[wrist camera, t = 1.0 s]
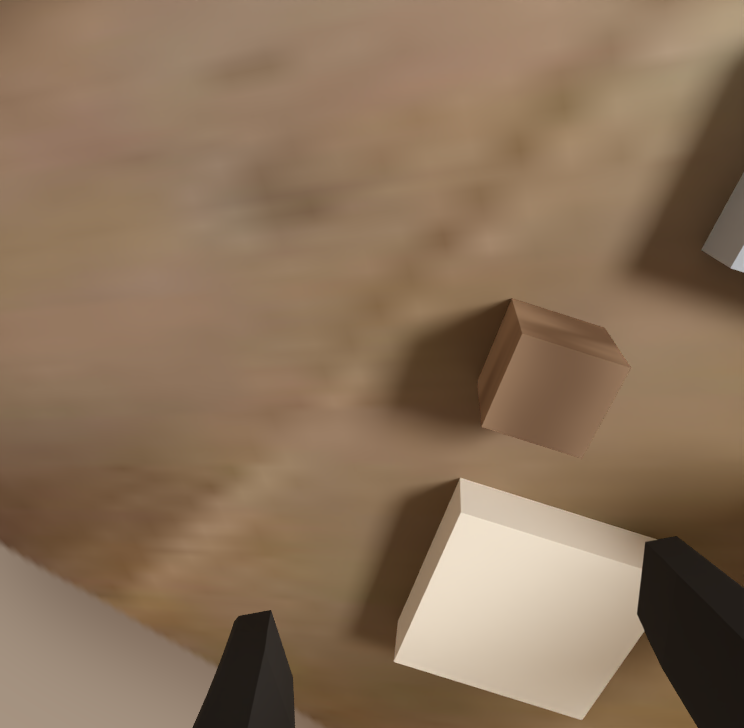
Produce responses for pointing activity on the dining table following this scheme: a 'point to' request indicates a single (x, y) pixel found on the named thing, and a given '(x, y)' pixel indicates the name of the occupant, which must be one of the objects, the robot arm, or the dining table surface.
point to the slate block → (729, 232)
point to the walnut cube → (549, 379)
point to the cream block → (524, 600)
